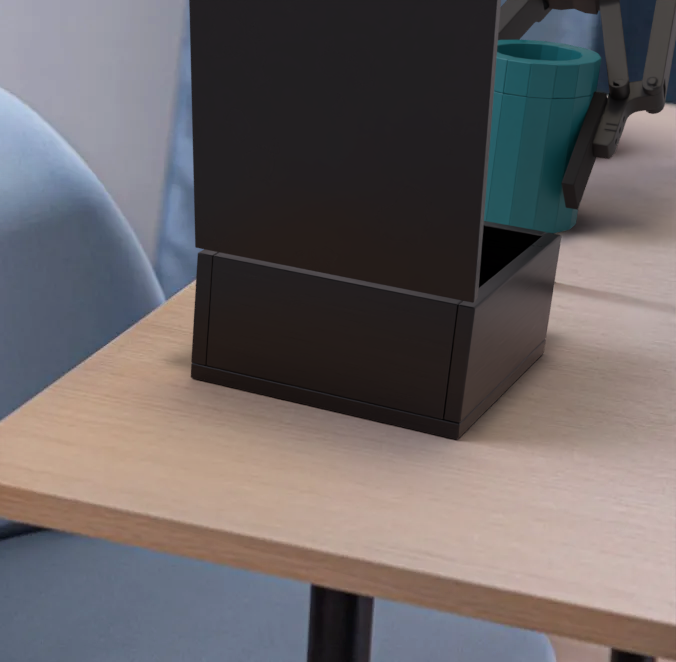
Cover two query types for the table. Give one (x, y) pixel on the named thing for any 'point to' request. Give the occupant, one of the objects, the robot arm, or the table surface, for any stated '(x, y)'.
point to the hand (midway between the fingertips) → (504, 185)
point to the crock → (536, 131)
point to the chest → (377, 334)
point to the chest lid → (346, 136)
